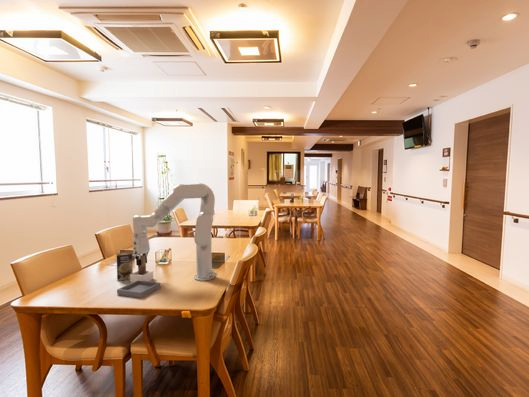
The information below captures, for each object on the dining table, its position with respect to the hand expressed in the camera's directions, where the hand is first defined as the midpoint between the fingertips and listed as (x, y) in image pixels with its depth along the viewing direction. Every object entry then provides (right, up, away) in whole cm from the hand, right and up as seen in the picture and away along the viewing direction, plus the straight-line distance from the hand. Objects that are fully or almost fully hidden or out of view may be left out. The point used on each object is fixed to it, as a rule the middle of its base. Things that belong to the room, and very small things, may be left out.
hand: (141, 263), depth 188 cm
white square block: (0, -11, +1) cm, 11 cm away
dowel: (0, -7, +1) cm, 7 cm away
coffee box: (-13, -11, +5) cm, 17 cm away
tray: (+6, -12, -17) cm, 21 cm away
